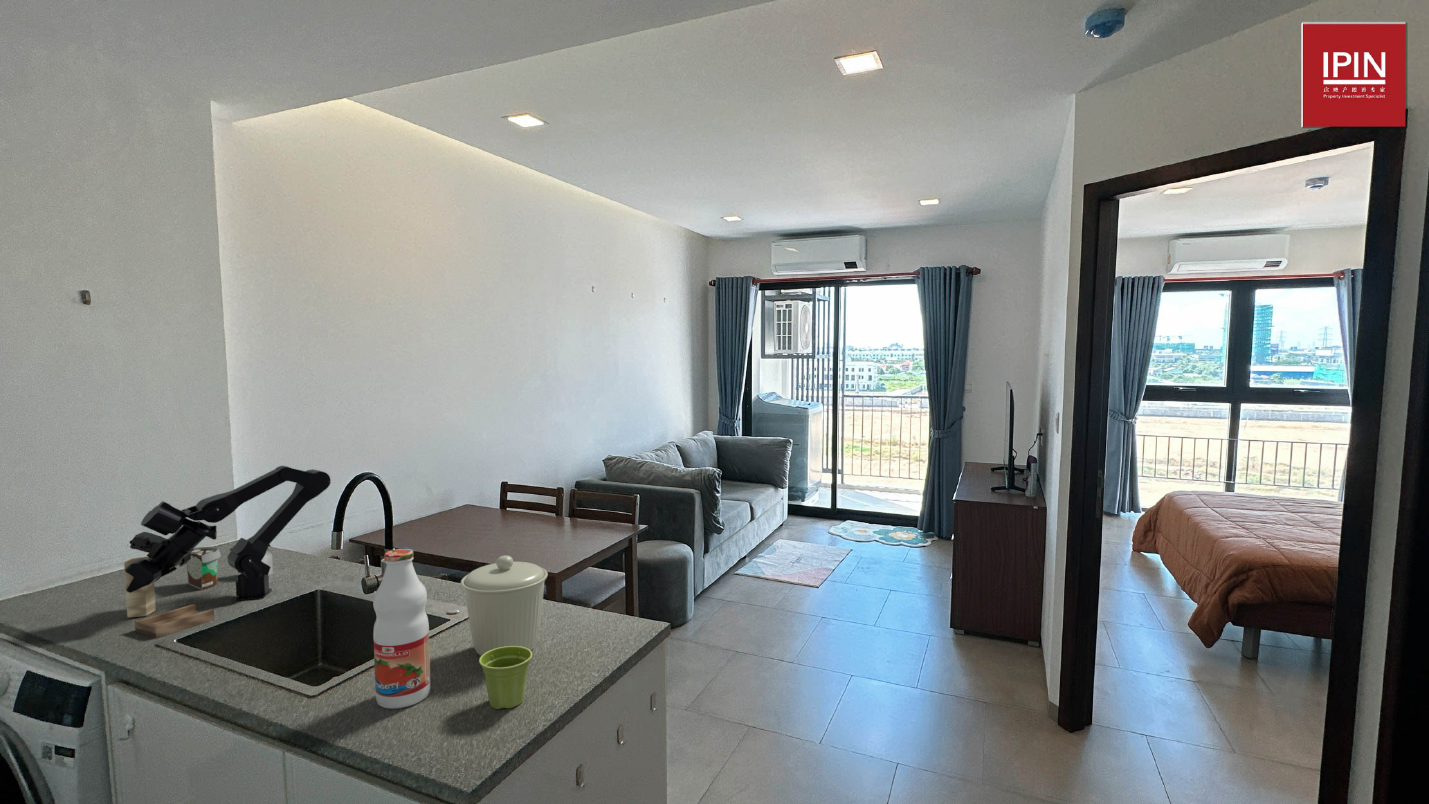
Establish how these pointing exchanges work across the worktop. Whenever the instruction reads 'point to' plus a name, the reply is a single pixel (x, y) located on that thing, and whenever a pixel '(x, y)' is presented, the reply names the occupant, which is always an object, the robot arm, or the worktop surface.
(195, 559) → the food container
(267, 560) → the tea bag
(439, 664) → the worktop surface
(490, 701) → the plant pot
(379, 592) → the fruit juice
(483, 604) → the canister
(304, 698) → the worktop surface
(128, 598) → the birch peg
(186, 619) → the walnut rack
